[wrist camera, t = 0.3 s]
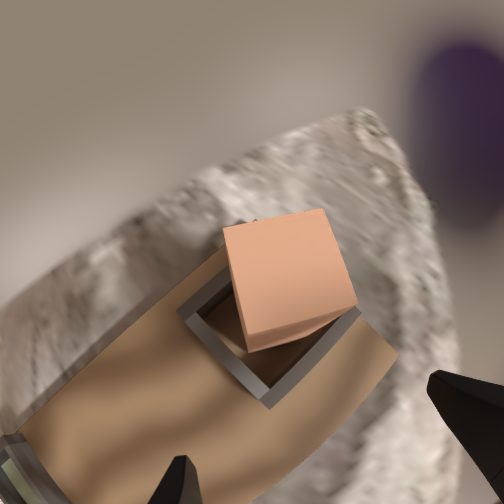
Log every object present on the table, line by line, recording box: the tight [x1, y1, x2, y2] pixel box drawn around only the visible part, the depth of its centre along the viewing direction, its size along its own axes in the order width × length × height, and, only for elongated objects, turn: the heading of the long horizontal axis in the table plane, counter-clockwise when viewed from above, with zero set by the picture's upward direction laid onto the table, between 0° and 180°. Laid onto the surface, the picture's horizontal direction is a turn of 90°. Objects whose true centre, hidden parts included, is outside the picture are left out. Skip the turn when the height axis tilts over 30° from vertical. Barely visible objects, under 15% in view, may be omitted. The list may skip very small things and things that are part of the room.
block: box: [223, 208, 358, 353], centre depth 15 cm, size 4×4×12 cm
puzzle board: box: [0, 219, 399, 504], centre depth 15 cm, size 17×42×4 cm, turn 134°
